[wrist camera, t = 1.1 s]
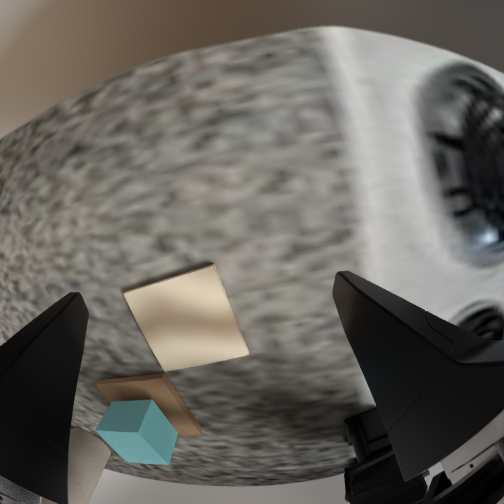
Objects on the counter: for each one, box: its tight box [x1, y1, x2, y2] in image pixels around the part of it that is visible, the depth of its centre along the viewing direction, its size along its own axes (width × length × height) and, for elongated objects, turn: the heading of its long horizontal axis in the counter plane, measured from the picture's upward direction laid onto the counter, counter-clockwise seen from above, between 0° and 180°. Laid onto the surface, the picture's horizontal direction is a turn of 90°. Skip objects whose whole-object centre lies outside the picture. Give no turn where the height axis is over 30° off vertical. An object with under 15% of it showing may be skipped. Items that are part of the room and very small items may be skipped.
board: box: [124, 264, 249, 371], centre depth 24 cm, size 9×9×1 cm
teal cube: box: [96, 399, 178, 465], centre depth 23 cm, size 6×6×5 cm
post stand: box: [95, 372, 203, 437], centre depth 24 cm, size 10×10×6 cm
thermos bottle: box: [41, 428, 111, 504], centre depth 18 cm, size 8×8×28 cm
